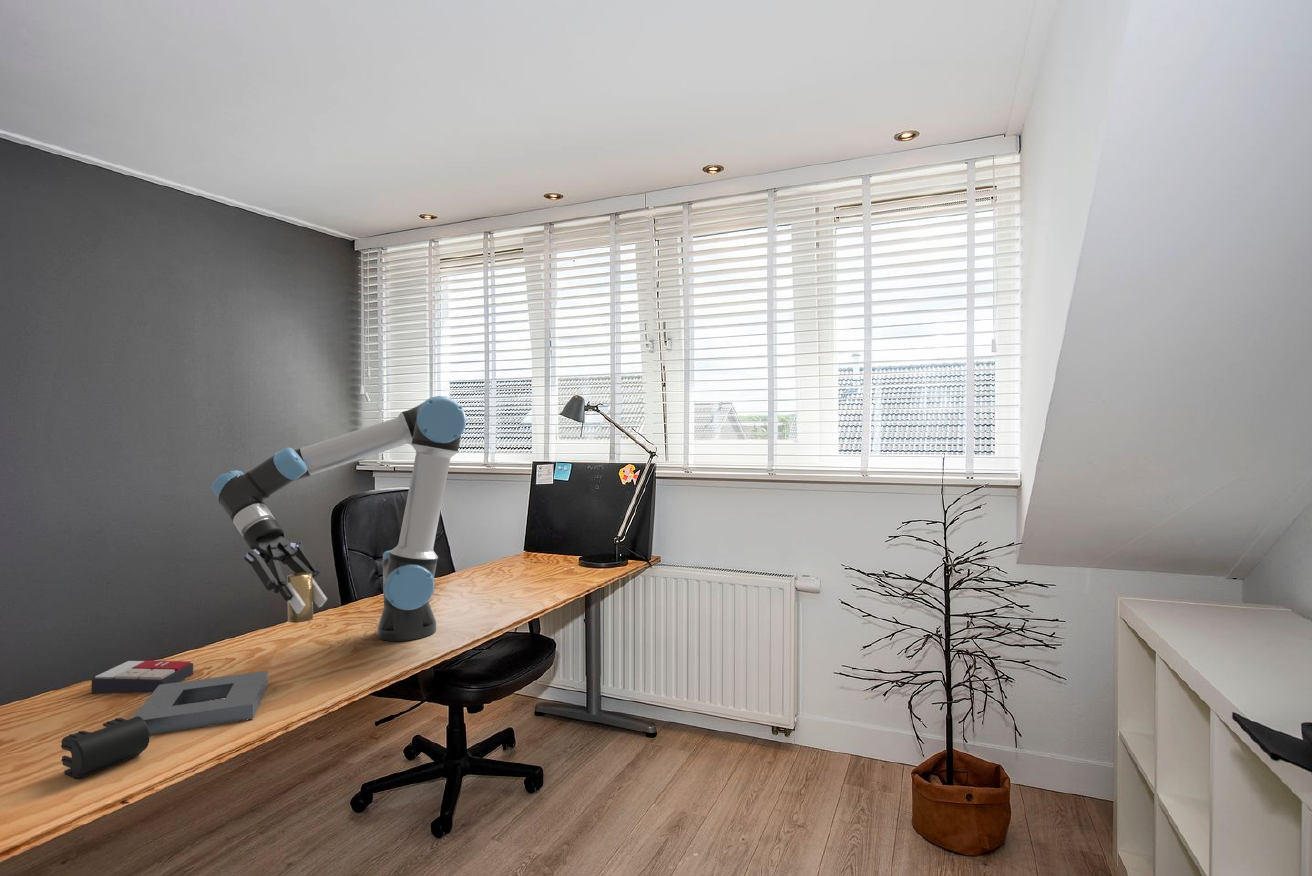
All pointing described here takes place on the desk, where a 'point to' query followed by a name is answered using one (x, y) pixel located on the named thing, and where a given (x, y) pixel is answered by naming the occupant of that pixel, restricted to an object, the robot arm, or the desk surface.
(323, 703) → the desk surface
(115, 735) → the end cap
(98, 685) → the calculator
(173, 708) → the frame
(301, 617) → the metal cylinder
